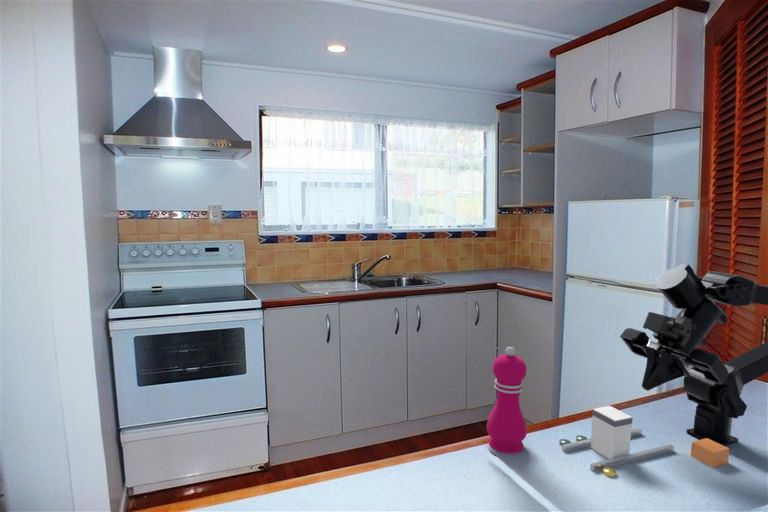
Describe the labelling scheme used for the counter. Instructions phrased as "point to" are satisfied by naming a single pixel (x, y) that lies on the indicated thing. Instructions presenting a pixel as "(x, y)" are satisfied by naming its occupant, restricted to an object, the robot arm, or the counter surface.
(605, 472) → the panel
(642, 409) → the counter surface
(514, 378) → the pepper mill
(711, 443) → the orange cube
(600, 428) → the plate
